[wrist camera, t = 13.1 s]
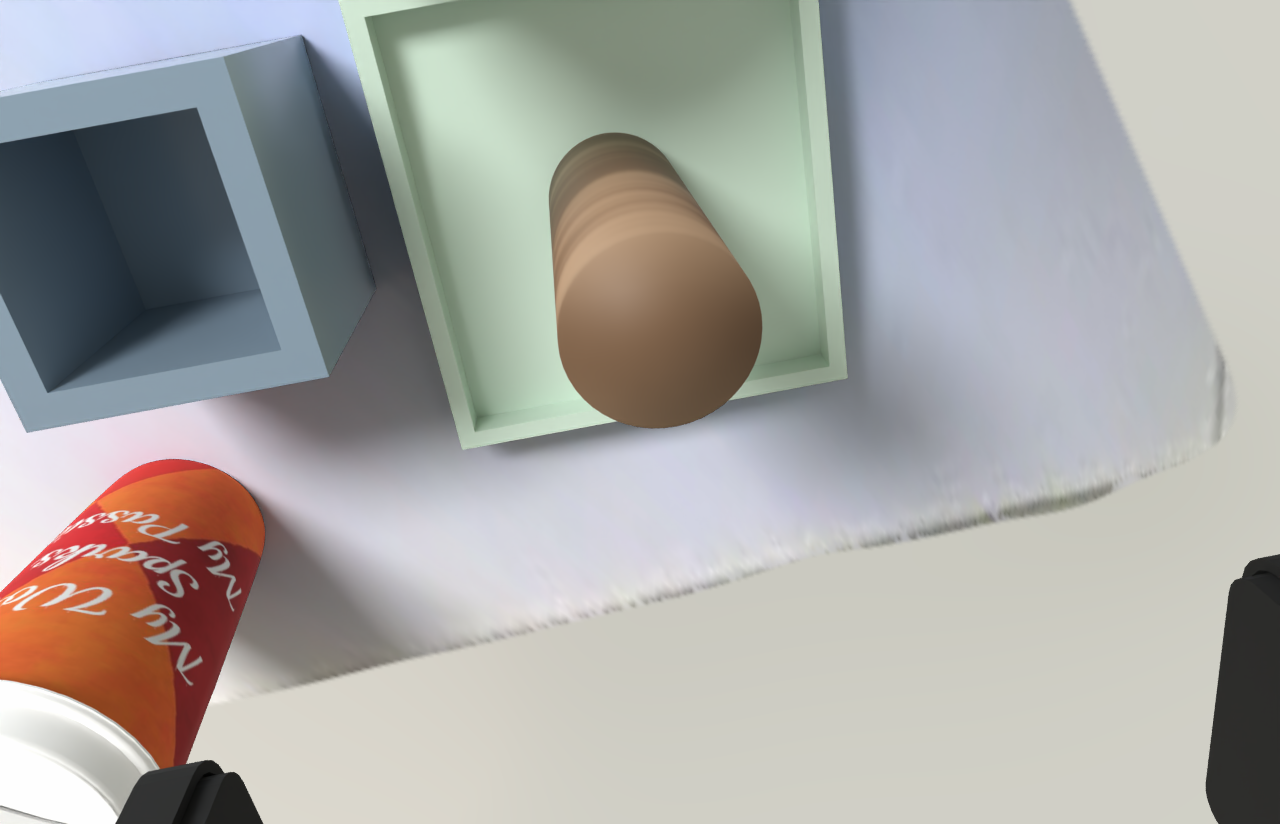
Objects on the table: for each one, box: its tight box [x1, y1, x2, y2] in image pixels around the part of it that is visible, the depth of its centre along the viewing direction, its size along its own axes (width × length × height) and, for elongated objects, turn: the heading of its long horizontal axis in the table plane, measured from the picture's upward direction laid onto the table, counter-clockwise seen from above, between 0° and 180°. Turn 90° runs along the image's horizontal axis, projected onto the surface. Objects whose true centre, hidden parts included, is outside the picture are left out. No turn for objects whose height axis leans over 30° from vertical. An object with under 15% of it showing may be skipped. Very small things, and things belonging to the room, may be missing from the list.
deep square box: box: [0, 35, 376, 433], centre depth 28 cm, size 8×8×8 cm
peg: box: [549, 132, 762, 428], centre depth 26 cm, size 4×4×13 cm
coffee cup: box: [0, 459, 265, 824], centre depth 30 cm, size 8×8×15 cm
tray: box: [338, 0, 848, 450], centre depth 32 cm, size 15×14×2 cm
